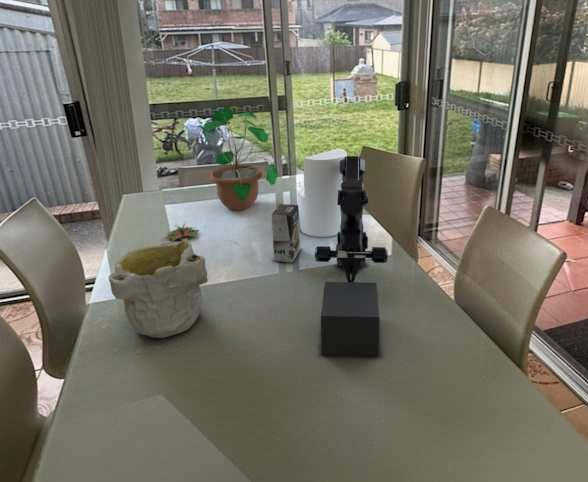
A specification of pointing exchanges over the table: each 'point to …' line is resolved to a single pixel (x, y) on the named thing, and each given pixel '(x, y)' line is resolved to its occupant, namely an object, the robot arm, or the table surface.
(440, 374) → the table surface
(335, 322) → the dark grey rectangular box
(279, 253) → the coffee box
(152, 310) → the ceramic vessel
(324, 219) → the cylinder
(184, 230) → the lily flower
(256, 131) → the potted plant
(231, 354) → the table surface
